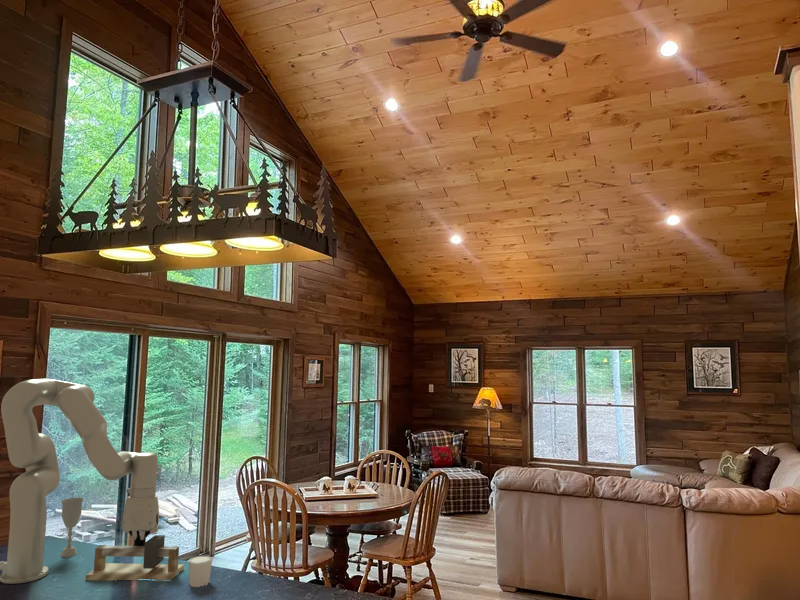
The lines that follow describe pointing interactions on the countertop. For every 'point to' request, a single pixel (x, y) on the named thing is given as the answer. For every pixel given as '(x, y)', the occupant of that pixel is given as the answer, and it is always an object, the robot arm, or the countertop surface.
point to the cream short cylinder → (199, 570)
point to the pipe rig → (133, 570)
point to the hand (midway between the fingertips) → (139, 551)
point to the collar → (153, 551)
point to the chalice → (70, 521)
